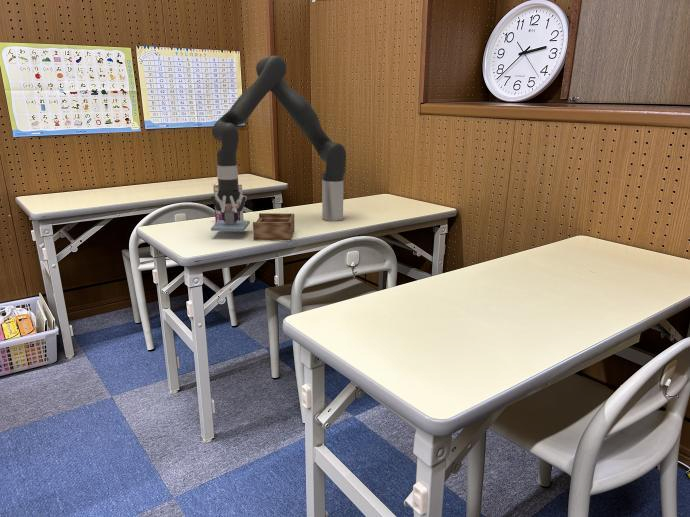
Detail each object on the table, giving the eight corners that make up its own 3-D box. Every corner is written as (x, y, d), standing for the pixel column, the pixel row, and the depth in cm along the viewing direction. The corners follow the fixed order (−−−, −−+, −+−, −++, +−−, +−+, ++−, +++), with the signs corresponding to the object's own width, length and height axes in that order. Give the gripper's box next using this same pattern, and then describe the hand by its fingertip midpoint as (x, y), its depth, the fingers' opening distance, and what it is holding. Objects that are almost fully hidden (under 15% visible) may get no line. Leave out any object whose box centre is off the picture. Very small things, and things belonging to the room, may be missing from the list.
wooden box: (294, 230, 203) (294, 213, 200) (290, 240, 188) (290, 222, 186) (260, 230, 203) (259, 213, 200) (253, 240, 188) (252, 222, 186)
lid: (249, 223, 200) (248, 208, 198) (243, 231, 189) (243, 215, 187) (218, 222, 200) (217, 208, 198) (211, 230, 189) (209, 215, 187)
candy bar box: (215, 223, 213) (212, 184, 207) (219, 220, 217) (216, 182, 212) (240, 224, 212) (238, 185, 206) (244, 221, 216) (242, 183, 211)
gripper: (248, 175, 192) (250, 219, 197) (211, 175, 192) (214, 218, 197) (244, 179, 185) (246, 224, 190) (206, 178, 185) (209, 223, 190)
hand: (230, 221), depth 194 cm, fingers closed on lid, 3 cm apart
